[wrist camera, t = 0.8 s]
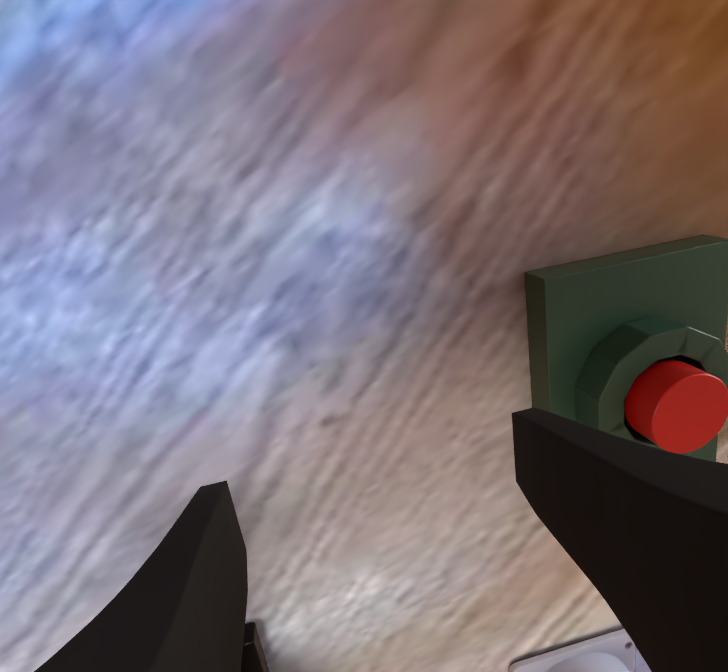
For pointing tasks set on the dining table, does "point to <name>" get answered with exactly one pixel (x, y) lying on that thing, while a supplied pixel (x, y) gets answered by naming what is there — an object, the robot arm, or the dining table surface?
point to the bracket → (252, 651)
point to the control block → (625, 328)
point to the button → (677, 406)
